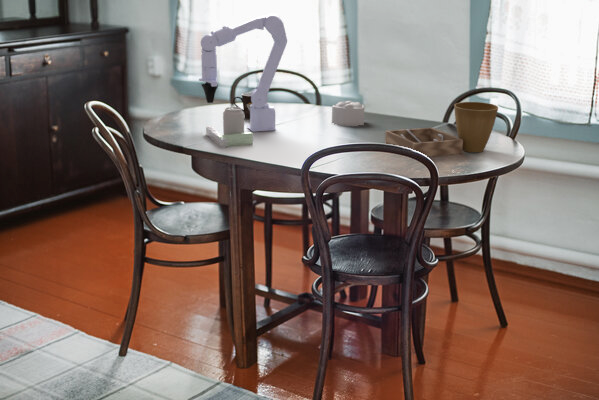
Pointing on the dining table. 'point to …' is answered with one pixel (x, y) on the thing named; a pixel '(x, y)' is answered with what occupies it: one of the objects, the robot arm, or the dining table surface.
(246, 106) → the coffee mug
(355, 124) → the lumpy-topped squat cylinder
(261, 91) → the robot arm
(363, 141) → the dining table surface
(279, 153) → the dining table surface
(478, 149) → the plant pot
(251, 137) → the pale green flat block
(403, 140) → the rack corral
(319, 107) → the dining table surface
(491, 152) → the dining table surface
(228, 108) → the can
